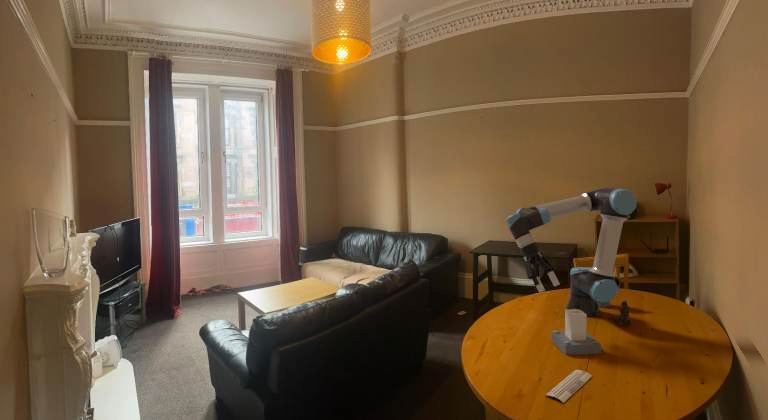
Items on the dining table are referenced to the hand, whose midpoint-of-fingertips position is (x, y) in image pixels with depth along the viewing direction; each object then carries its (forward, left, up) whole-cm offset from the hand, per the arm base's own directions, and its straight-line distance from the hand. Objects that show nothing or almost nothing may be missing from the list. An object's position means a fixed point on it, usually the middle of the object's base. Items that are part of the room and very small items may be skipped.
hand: (549, 288), depth 180 cm
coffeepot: (-43, -38, -21) cm, 61 cm away
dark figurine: (-40, -13, -21) cm, 47 cm away
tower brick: (-6, +13, -17) cm, 22 cm away
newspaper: (+9, +44, -22) cm, 50 cm away
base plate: (-6, +13, -21) cm, 26 cm away
